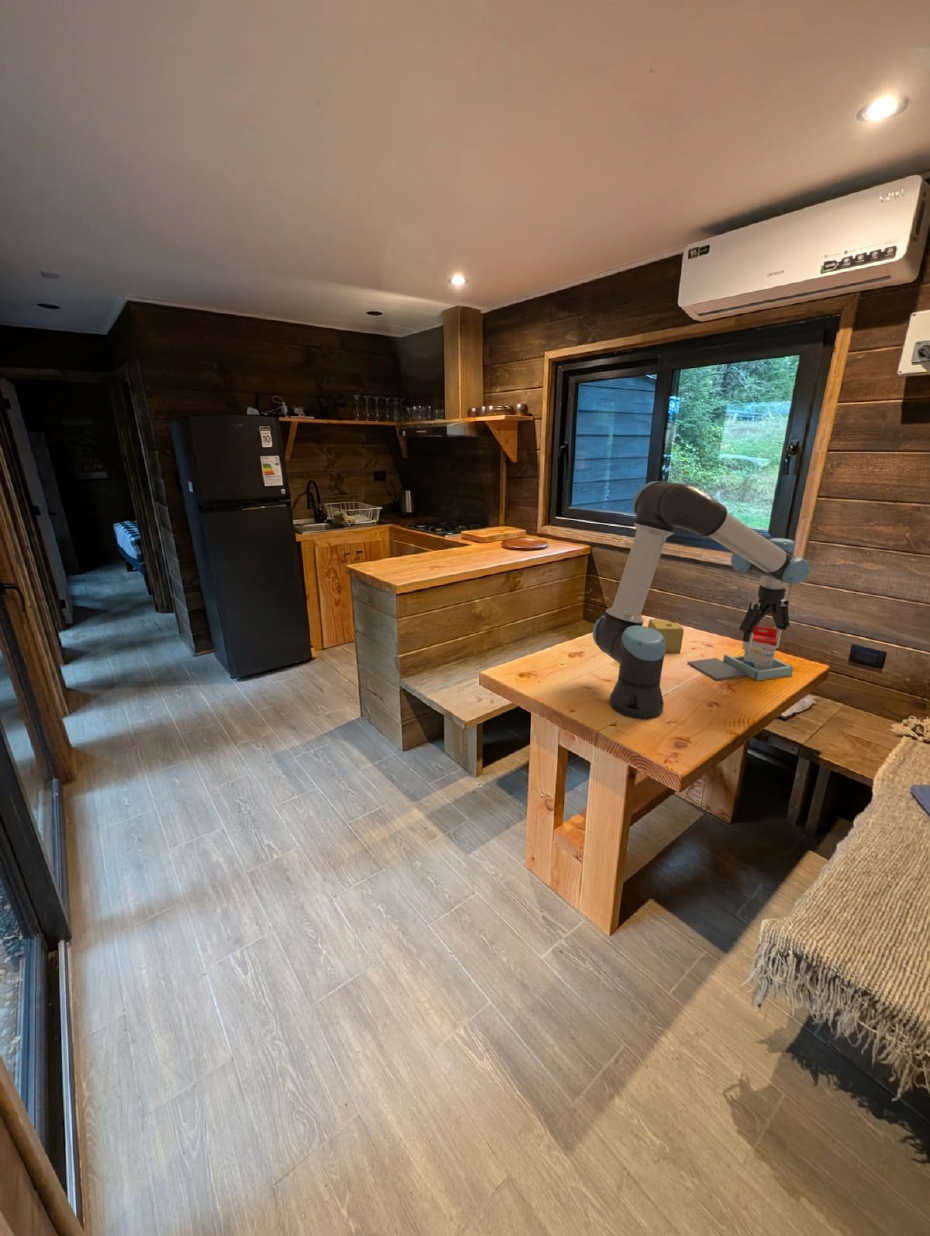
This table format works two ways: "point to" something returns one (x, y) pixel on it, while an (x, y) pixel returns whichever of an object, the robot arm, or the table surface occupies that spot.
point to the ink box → (761, 649)
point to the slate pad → (716, 669)
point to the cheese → (669, 634)
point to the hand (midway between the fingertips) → (760, 648)
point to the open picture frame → (777, 670)
